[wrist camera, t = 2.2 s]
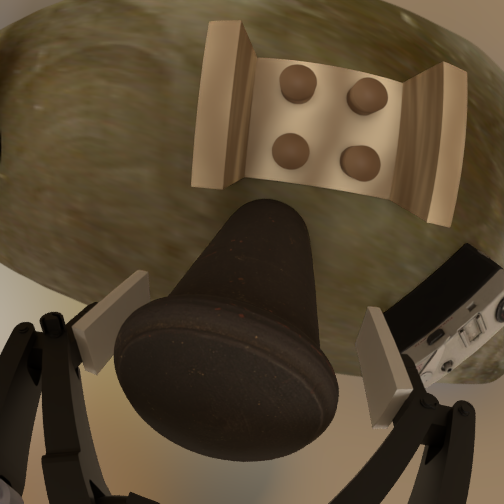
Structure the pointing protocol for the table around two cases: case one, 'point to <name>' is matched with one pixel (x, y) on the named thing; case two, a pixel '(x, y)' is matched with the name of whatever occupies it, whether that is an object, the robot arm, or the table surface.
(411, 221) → the table surface
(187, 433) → the container
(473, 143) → the table surface
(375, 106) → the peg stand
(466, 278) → the camera
